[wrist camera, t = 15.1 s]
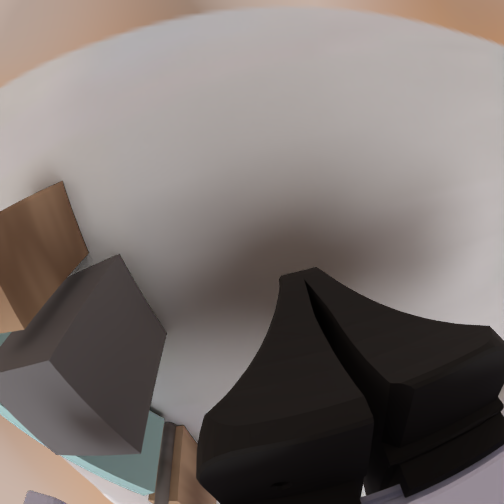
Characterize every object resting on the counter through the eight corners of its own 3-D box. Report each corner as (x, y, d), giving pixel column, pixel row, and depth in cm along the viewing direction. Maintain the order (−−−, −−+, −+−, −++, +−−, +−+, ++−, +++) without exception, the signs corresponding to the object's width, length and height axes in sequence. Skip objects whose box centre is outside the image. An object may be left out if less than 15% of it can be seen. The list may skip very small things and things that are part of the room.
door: (164, 419, 15) (154, 492, 10) (147, 429, 15) (135, 497, 11) (16, 312, 11) (-33, 375, 7) (8, 331, 12) (-35, 391, 8)
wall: (215, 468, 18) (216, 533, 13) (194, 470, 18) (192, 533, 13) (62, 181, 10) (-35, 232, 5) (33, 194, 10) (-61, 248, 5)
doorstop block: (166, 333, 13) (140, 453, 7) (97, 353, 13) (56, 454, 8) (119, 253, 11) (48, 360, 6) (50, 285, 11) (-22, 377, 6)
